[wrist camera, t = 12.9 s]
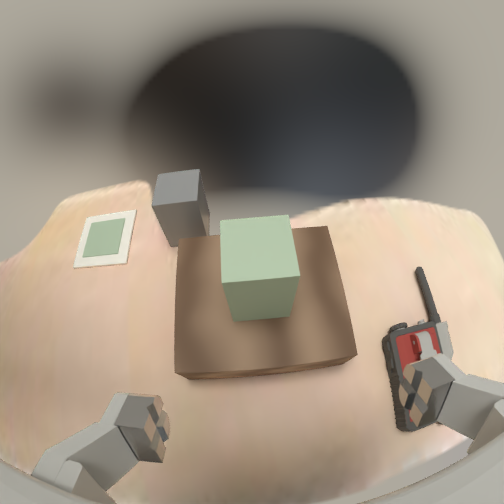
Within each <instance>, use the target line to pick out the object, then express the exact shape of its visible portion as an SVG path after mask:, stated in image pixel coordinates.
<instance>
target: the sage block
mask: <svg viewBox="0 0 504 504" xmlns="http://www.w3.org/2000/svg"><path fill="white" fill-rule="evenodd" d="M220 247H221V279H222V286H223V289H224V292H225V296H226V299H227V302H228V306H229V309H230V312H231V315H232V319H233V322H236V321H248V320H259V319H270V318H279V317H289V316H290V313H291V309H292V306H293V302H294V298H295V294H296V291H297V287H298V283H299V279H300V271H299V266H298V261H297V255H296V250H295V245H294V240H293V235H292V230H291V225H290V220H289V215H279V216H266V217H254V218H243V219H232V220H223V221H222V220H221V221H220Z"/></svg>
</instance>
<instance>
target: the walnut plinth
mask: <svg viewBox="0 0 504 504" xmlns="http://www.w3.org/2000/svg"><path fill="white" fill-rule="evenodd" d="M291 230H292V235H293V240H294V245H295V250H296V255H297V261H298V266H299V271H300V279H299V283H298V287H297V291H296V294H295V298H294V302H293V306H292V309H291V313H290V316H289V317H279V318H270V319H259V320H248V321H236V322H233V319H232V315H231V312H230V309H229V306H228V302H227V299H226V296H225V292H224V289H223V286H222V279H221V247H220V235H213V236H202V237H192V238H182V239H179V243H178V257H177V274H176V296H175V344H174V353H175V373H176V374H179V375H181V376H183V377H185V378H187V379H213V378H234V377H248V376H260V375H270V374H280V373H288V372H296V371H303V370H310V369H317V368H323V367H329V366H335V365H340V364H344V363H345V362H347V361H348V360H350V359H352V358H353V357H355V356H356V355H357V349H356V344H355V339H354V334H353V329H352V324H351V319H350V314H349V310H348V305H347V301H346V297H345V292H344V288H343V284H342V280H341V276H340V272H339V268H338V264H337V260H336V256H335V252H334V249H333V245H332V241H331V238H330V234H329V231H328V227H327V226H321V227H307V228H294V229H291Z"/></svg>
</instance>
